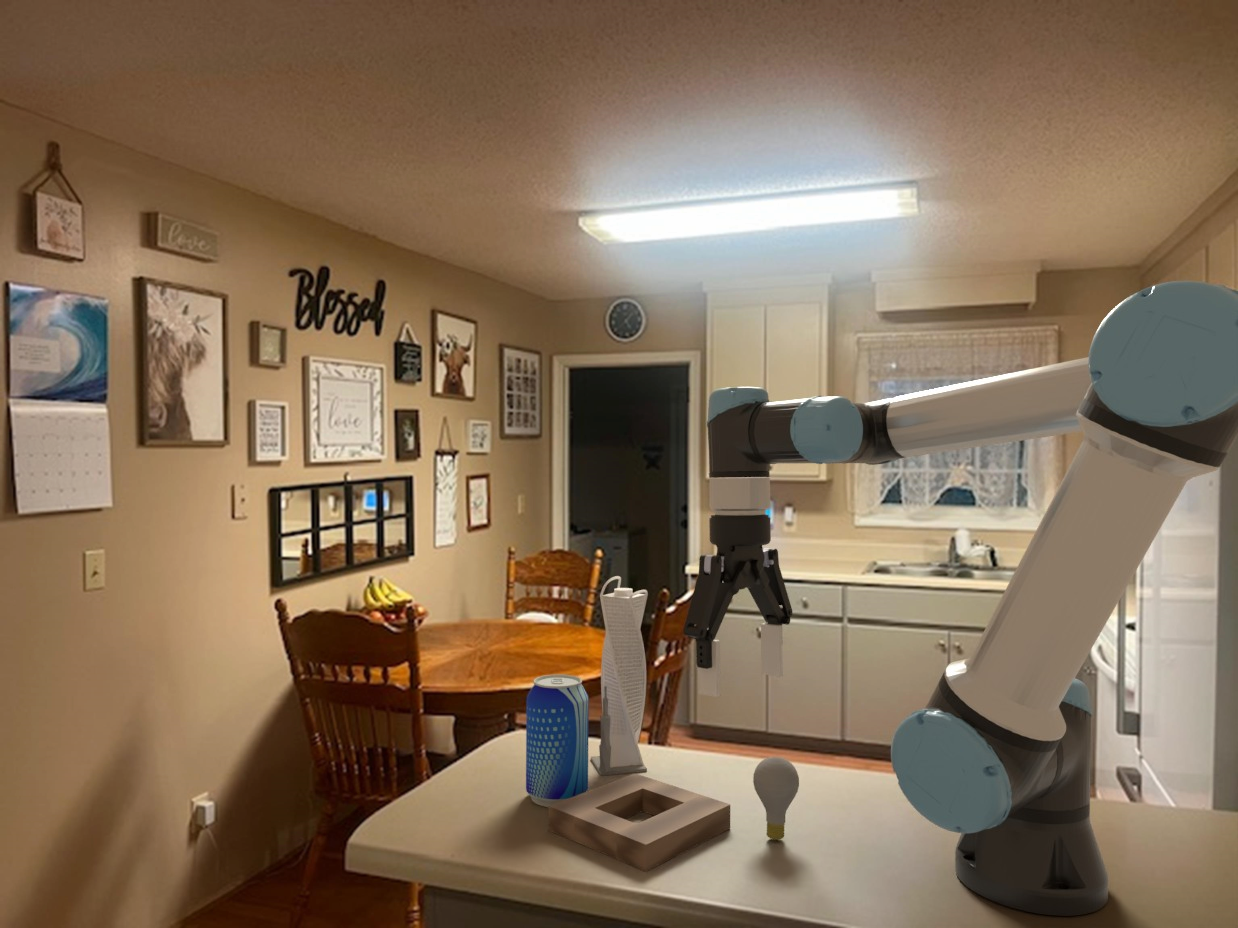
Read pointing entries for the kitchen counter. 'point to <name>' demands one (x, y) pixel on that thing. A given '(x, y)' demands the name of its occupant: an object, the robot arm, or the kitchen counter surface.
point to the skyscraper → (622, 681)
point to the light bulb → (776, 791)
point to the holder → (648, 842)
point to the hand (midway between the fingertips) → (742, 684)
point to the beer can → (556, 739)
